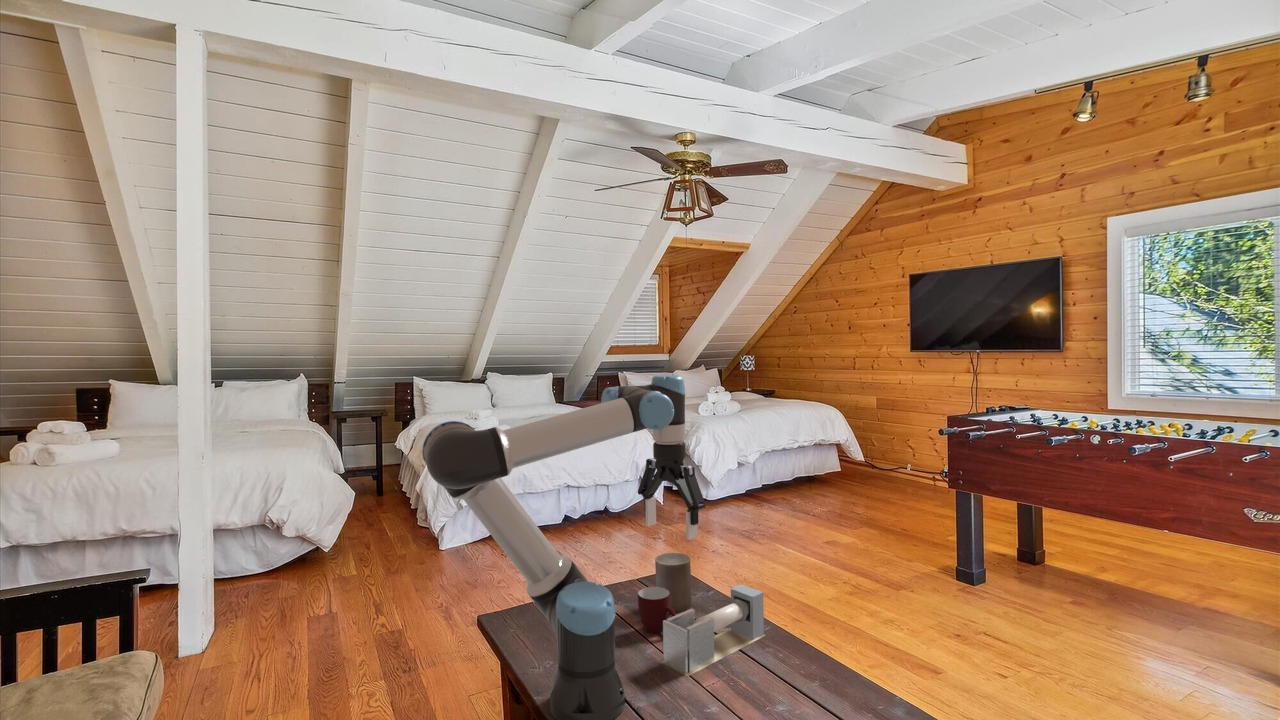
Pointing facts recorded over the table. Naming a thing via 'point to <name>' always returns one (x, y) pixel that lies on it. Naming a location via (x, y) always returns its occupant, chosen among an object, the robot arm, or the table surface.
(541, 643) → the table surface
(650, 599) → the mug
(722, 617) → the slip tube
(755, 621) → the socket block
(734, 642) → the base board
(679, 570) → the pillar candle
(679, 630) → the grey u-shaped bracket
